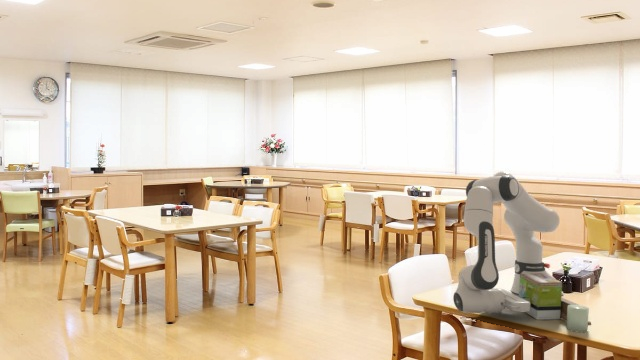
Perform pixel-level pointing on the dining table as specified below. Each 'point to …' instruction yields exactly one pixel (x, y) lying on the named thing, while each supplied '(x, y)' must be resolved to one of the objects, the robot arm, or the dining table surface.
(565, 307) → the walnut rail
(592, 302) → the dining table surface
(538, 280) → the tea box
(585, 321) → the mint green canister
